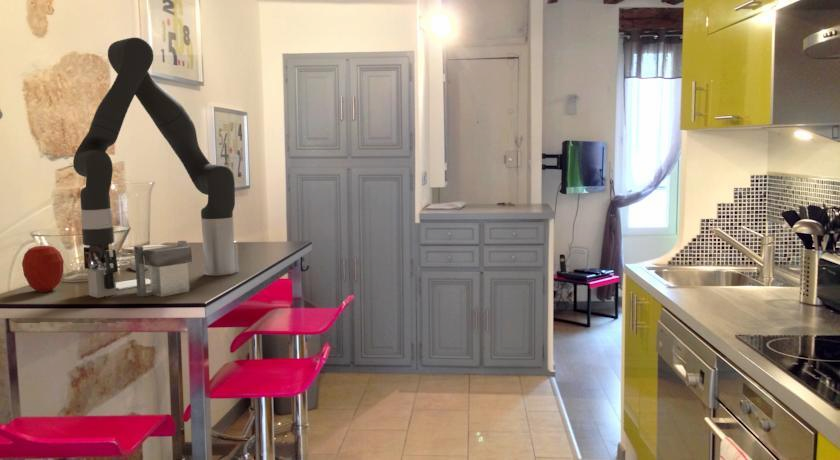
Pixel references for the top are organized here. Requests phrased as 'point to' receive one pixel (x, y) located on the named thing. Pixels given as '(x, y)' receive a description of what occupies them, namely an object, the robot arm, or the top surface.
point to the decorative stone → (132, 265)
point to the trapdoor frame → (161, 276)
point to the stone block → (99, 283)
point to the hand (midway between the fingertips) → (102, 287)
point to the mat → (130, 284)
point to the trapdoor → (163, 254)
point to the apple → (43, 268)
